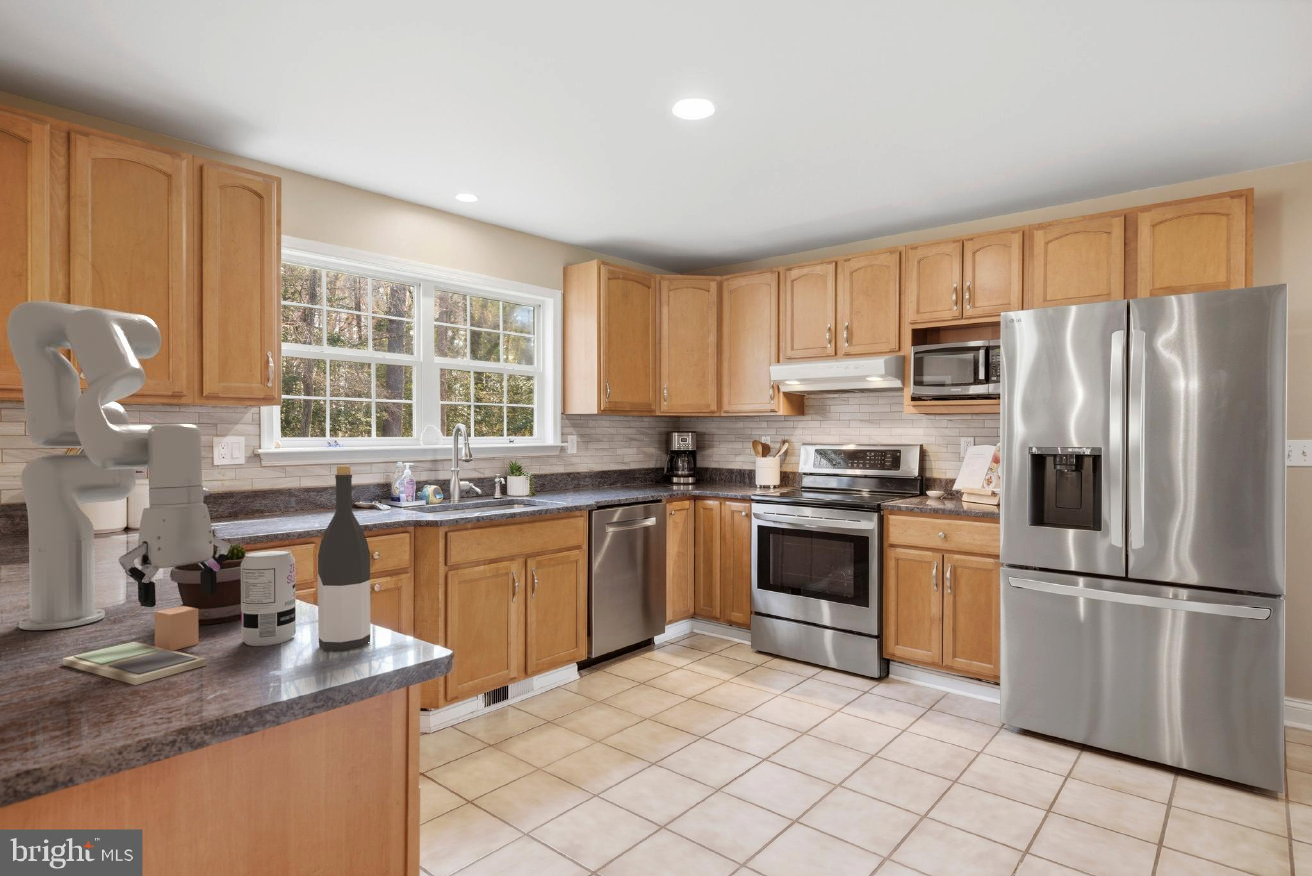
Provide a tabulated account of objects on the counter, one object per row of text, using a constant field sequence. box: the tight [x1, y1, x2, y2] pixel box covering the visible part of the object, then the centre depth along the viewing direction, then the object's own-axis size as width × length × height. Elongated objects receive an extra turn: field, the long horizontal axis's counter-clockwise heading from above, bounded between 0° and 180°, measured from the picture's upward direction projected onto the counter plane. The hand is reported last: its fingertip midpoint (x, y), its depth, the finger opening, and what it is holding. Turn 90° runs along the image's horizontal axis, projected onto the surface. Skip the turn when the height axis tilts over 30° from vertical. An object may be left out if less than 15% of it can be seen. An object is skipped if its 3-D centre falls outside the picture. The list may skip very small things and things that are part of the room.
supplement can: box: [240, 549, 297, 647], centre depth 125 cm, size 8×8×15 cm
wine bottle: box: [317, 465, 371, 652], centre depth 122 cm, size 8×8×30 cm
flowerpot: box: [169, 527, 248, 625], centre depth 141 cm, size 14×15×20 cm
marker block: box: [154, 605, 200, 651], centre depth 123 cm, size 4×4×6 cm
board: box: [62, 641, 208, 686], centre depth 112 cm, size 20×10×1 cm, turn 62°
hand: (179, 600), depth 122 cm, fingers open, 9 cm apart
